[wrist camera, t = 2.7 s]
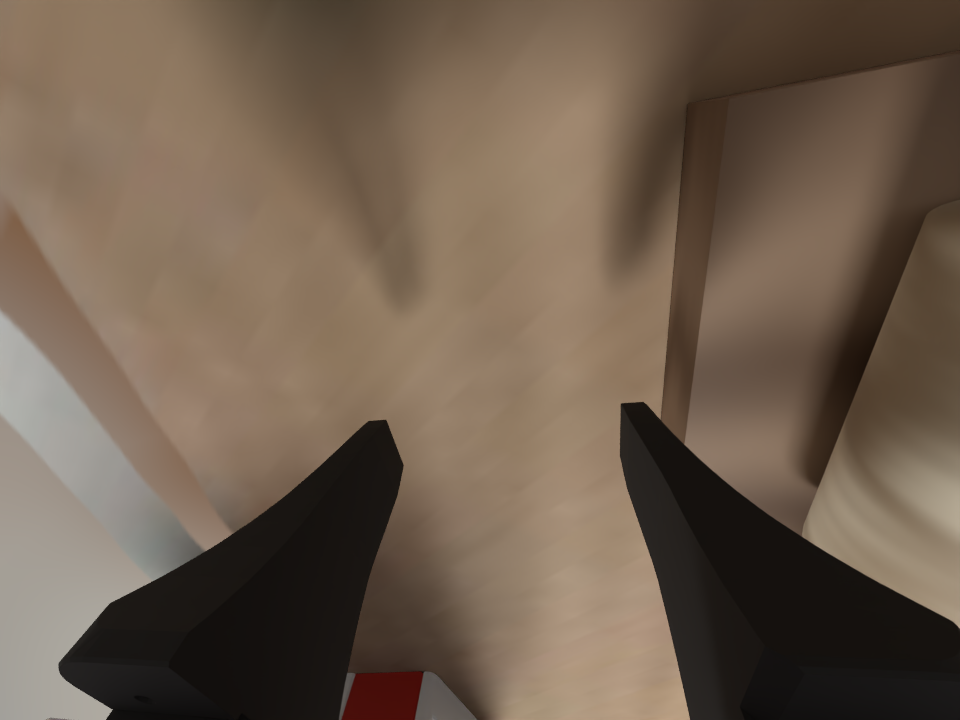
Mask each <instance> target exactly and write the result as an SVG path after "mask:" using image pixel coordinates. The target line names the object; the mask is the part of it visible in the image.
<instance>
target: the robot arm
mask: <svg viewBox="0 0 960 720" xmlns="http://www.w3.org/2000/svg"><path fill="white" fill-rule="evenodd" d="M620 458H621V462H622V467H623V472H624V476H625V481H626V485H627V489H628V492H629V495H630V498H631V501H632V504H633V507H634V510H635V513H636V516H637V518H638V521H639V524H640V527H641V530H642V533H643V536H644V539H645V542H646V545H647V547H648V550H649V553H650V556H651V559H652V562H653V565H654V568H655V572H656V575H657V578H658V582H659V586H660V590H661V594H662V598H663V602H664V606H665V611H666V615H667V619H668V623H669V627H670V632H671V636H672V640H673V644H674V649H675V653H676V657H677V662H678V666H679V671H680V675H681V680H682V684H683V689H684V693H685V698H686V702H687V707H688V711H689V716H690V720H960V628H959V627H958V626H957V625H956V624H955V623H954V622H953V621H951V620H949V619H947V618H945V617H944V616H942V615H940V614H938V613H936V612H934V611H932V610H930V609H928V608H926V607H925V606H923V605H921V604H919V603H917V602H915V601H913V600H911V599H909V598H907V597H905V596H904V595H902V594H900V593H898V592H896V591H894V590H892V589H890V588H888V587H886V586H885V585H883V584H881V583H879V582H877V581H875V580H873V579H872V578H870V577H868V576H866V575H865V574H863V573H861V572H859V571H858V570H856V569H854V568H853V567H851V566H849V565H847V564H846V563H844V562H842V561H841V560H839V559H837V558H835V557H834V556H832V555H830V554H829V553H827V552H825V551H824V550H822V549H821V548H819V547H817V546H816V545H814V544H813V543H811V542H809V541H808V540H806V539H805V538H803V537H802V536H800V535H799V534H797V533H796V532H794V531H793V530H791V529H789V528H788V527H786V526H785V525H783V524H782V523H780V522H779V521H777V520H776V519H774V518H773V517H771V516H770V515H769V514H767V513H766V512H764V511H763V510H762V509H760V508H759V507H757V506H756V505H755V504H754V503H752V502H751V501H750V500H748V499H747V498H746V497H744V496H743V495H742V494H740V493H739V492H738V491H737V490H735V489H734V488H733V487H732V486H730V485H729V484H728V483H727V482H725V481H724V480H723V479H722V478H721V477H720V476H718V475H717V474H716V473H715V472H714V471H713V470H711V469H710V468H709V467H708V466H707V465H706V464H705V463H704V462H702V461H701V460H700V459H699V458H698V457H697V456H696V455H695V454H694V453H693V452H692V451H691V450H690V449H689V448H688V447H687V446H685V445H684V444H683V443H682V442H681V441H680V440H679V439H678V438H677V437H676V436H675V435H674V434H673V433H672V432H671V431H670V430H669V428H668V427H667V426H666V425H665V424H664V423H663V422H662V421H661V420H660V419H659V418H658V417H657V416H656V415H655V413H654V412H653V411H652V410H651V409H650V408H649V407H648V406H647V405H646V404H645V403H644V402H636V403H622V404H621V427H620ZM403 466H404V465H403V463H402V460H401V457H400V455H399V452H398V450H397V447H396V444H395V442H394V439H393V436H392V434H391V431H390V429H389V426H388V423H387V421H386V420H378V421H368V422H367V423H366V424H365V425H363V426H362V427H361V428H360V429H359V430H358V431H357V432H356V433H355V434H354V435H353V436H352V437H350V438H349V439H348V440H347V441H346V442H345V443H344V444H343V445H342V446H341V447H340V448H339V449H338V450H337V451H336V452H335V453H334V454H332V455H331V456H330V457H329V458H328V459H327V460H326V461H325V462H324V463H323V464H322V465H321V466H320V467H318V468H317V469H316V470H315V471H314V472H313V473H312V474H310V475H309V476H308V477H307V478H306V479H305V480H304V481H302V482H301V483H300V484H299V485H298V486H297V487H295V488H294V489H293V490H292V491H291V492H290V493H288V494H287V495H286V496H285V497H283V498H282V499H281V500H280V501H278V502H277V503H276V504H275V505H273V506H272V507H271V508H269V509H268V510H266V511H265V512H264V513H262V514H261V515H260V516H258V517H257V518H256V519H254V520H253V521H251V522H250V523H249V524H247V525H246V526H244V527H243V528H241V529H240V530H238V531H237V532H235V533H234V534H232V535H231V536H229V537H228V538H226V539H225V540H223V541H222V542H220V543H219V544H217V545H215V546H214V547H212V548H211V549H209V550H207V551H206V552H204V553H202V554H201V555H199V556H197V557H196V558H194V559H192V560H190V561H189V562H187V563H185V564H184V565H182V566H180V567H178V568H177V569H175V570H173V571H171V572H169V573H168V574H166V575H164V576H162V577H160V578H158V579H156V580H154V581H153V582H151V583H149V584H147V585H145V586H143V587H141V588H139V589H137V590H135V591H133V592H131V593H129V594H127V595H126V596H124V597H122V598H120V599H118V600H115V601H114V602H112V603H110V604H109V605H108V606H107V607H106V608H105V610H104V611H103V612H102V613H101V614H100V615H99V617H98V618H97V619H96V620H95V621H94V622H93V624H92V625H91V626H90V627H89V628H88V630H87V631H86V632H85V633H84V634H83V635H82V637H81V638H80V639H79V640H78V641H77V643H76V644H75V645H74V646H73V647H72V648H71V649H70V650H69V652H68V653H67V654H66V655H65V656H64V657H63V659H62V660H61V661H60V662H59V671H60V674H61V675H62V677H64V679H65V680H66V681H68V682H69V683H71V684H72V685H73V686H75V687H76V688H78V689H80V690H81V691H83V692H85V693H86V694H88V695H90V696H91V697H93V698H94V699H96V700H98V701H99V702H101V703H103V704H104V705H106V706H108V707H109V708H111V709H113V710H112V712H111V713H110V715H109V716H108V717H107V719H106V720H339V716H340V710H341V704H342V698H343V692H344V686H345V681H346V676H347V671H348V666H349V661H350V656H351V651H352V646H353V642H354V637H355V633H356V628H357V624H358V619H359V615H360V611H361V607H362V603H363V599H364V595H365V591H366V587H367V583H368V579H369V575H370V572H371V569H372V566H373V563H374V560H375V557H376V554H377V552H378V549H379V546H380V543H381V540H382V538H383V535H384V532H385V529H386V526H387V524H388V521H389V518H390V515H391V512H392V509H393V507H394V504H395V501H396V498H397V495H398V490H399V486H400V481H401V476H402V471H403ZM47 720H67V719H57V718H49V719H47Z"/></svg>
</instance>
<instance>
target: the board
mask: <svg viewBox="0 0 960 720" xmlns="http://www.w3.org/2000/svg"><path fill="white" fill-rule="evenodd" d="M956 200H960V50H959V51H954V52H949V53H944V54H939V55H934V56H929V57H923V58H918V59H913V60H908V61H903V62H898V63H893V64H888V65H883V66H877V67H872V68H867V69H862V70H857V71H852V72H847V73H842V74H837V75H831V76H826V77H821V78H816V79H811V80H806V81H801V82H796V83H791V84H785V85H780V86H775V87H770V88H765V89H760V90H755V91H750V92H745V93H739V94H734V95H729V96H724V97H719V98H714V99H709V100H704V101H699V102H693V103H688V107H687V119H686V131H685V143H684V154H683V166H682V178H681V190H680V202H679V213H678V225H677V237H676V249H675V261H674V272H673V284H672V296H671V308H670V320H669V332H668V343H667V355H666V367H665V379H664V391H663V402H662V414H661V421H662V422H663V423H664V424H665V425H666V426H667V427H668V428H669V430H670V431H671V432H672V433H673V434H674V435H675V436H676V437H677V438H678V439H679V440H680V441H681V442H682V443H683V444H684V445H685V446H687V447H688V448H689V449H690V450H691V451H692V452H693V453H694V454H695V455H696V456H697V457H698V458H699V459H700V460H701V461H702V462H704V463H705V464H706V465H707V466H708V467H709V468H710V469H711V470H713V471H714V472H715V473H716V474H717V475H718V476H720V477H721V478H722V479H723V480H724V481H725V482H727V483H728V484H729V485H730V486H732V487H733V488H734V489H735V490H737V491H738V492H739V493H740V494H742V495H743V496H744V497H746V498H747V499H748V500H750V501H751V502H752V503H754V504H755V505H756V506H757V507H759V508H760V509H762V510H763V511H764V512H766V513H767V514H769V515H770V516H771V517H773V518H774V519H776V520H777V521H779V522H780V523H782V524H783V525H785V526H786V527H788V528H789V529H791V530H793V531H794V532H796V533H797V534H799V535H800V536H802V532H803V526H804V523H805V520H806V517H807V515H808V512H809V510H810V507H811V505H812V502H813V500H814V497H815V495H816V492H817V490H818V487H819V485H820V482H821V480H822V477H823V475H824V472H825V469H826V467H827V464H828V462H829V459H830V457H831V454H832V452H833V449H834V447H835V444H836V442H837V439H838V437H839V434H840V432H841V429H842V427H843V424H844V421H845V419H846V416H847V414H848V411H849V409H850V406H851V404H852V401H853V399H854V396H855V394H856V391H857V389H858V386H859V384H860V381H861V378H862V376H863V373H864V371H865V368H866V366H867V363H868V361H869V358H870V356H871V353H872V351H873V348H874V346H875V343H876V341H877V338H878V336H879V333H880V330H881V328H882V325H883V323H884V320H885V318H886V315H887V313H888V310H889V308H890V305H891V303H892V300H893V298H894V295H895V293H896V290H897V288H898V285H899V282H900V280H901V277H902V275H903V272H904V270H905V267H906V265H907V262H908V260H909V257H910V255H911V252H912V250H913V247H914V245H915V242H916V240H917V237H918V234H919V232H920V229H921V227H922V224H923V222H924V219H925V217H926V215H927V214H928V213H929V212H930V211H931V210H933V209H935V208H937V207H939V206H941V205H944V204H946V203H949V202H952V201H956Z"/></svg>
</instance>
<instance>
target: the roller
mask: <svg viewBox="0 0 960 720" xmlns="http://www.w3.org/2000/svg"><path fill="white" fill-rule="evenodd" d="M802 537H803V538H805V539H806V540H808V541H809V542H811V543H813V544H814V545H816V546H817V547H819V548H821V549H822V550H824V551H825V552H827V553H829V554H830V555H832V556H834V557H835V558H837V559H839V560H841V561H842V562H844V563H846V564H847V565H849V566H851V567H853V568H854V569H856V570H858V571H859V572H861V573H863V574H865V575H866V576H868V577H870V578H872V579H873V580H875V581H877V582H879V583H881V584H883V585H885V586H886V587H888V588H890V589H892V590H894V591H896V592H898V593H900V594H902V595H904V596H905V597H907V598H909V599H911V600H913V601H915V602H917V603H919V604H921V605H923V606H925V607H926V608H928V609H930V610H932V611H934V612H936V613H938V614H940V615H942V616H944V617H945V618H947V619H949V620H951V621H953V622H954V623H955V624H956V625H957V626H958V627H959V628H960V200H956V201H952V202H949V203H946V204H944V205H941V206H939V207H937V208H935V209H933V210H931V211H930V212H929V213H928V214H927V215H926V217H925V219H924V222H923V224H922V227H921V229H920V232H919V234H918V237H917V240H916V242H915V245H914V247H913V250H912V252H911V255H910V257H909V260H908V262H907V265H906V267H905V270H904V272H903V275H902V277H901V280H900V282H899V285H898V288H897V290H896V293H895V295H894V298H893V300H892V303H891V305H890V308H889V310H888V313H887V315H886V318H885V320H884V323H883V325H882V328H881V330H880V333H879V336H878V338H877V341H876V343H875V346H874V348H873V351H872V353H871V356H870V358H869V361H868V363H867V366H866V368H865V371H864V373H863V376H862V378H861V381H860V384H859V386H858V389H857V391H856V394H855V396H854V399H853V401H852V404H851V406H850V409H849V411H848V414H847V416H846V419H845V421H844V424H843V427H842V429H841V432H840V434H839V437H838V439H837V442H836V444H835V447H834V449H833V452H832V454H831V457H830V459H829V462H828V464H827V467H826V469H825V472H824V475H823V477H822V480H821V482H820V485H819V487H818V490H817V492H816V495H815V497H814V500H813V502H812V505H811V507H810V510H809V512H808V515H807V517H806V520H805V523H804V526H803V532H802Z"/></svg>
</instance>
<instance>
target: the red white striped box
mask: <svg viewBox="0 0 960 720" xmlns="http://www.w3.org/2000/svg"><path fill="white" fill-rule="evenodd" d="M339 720H477V719H476V718H475V716H474V715H473V714H472V713H471V712H470V711H469V710H468V709H467V708H466V707H465V705H464V704H463V703H462V702H461V701H460V700H459V699H458V698H457V697H456V696H455V694H454V693H453V692H452V691H451V690H450V689H449V688H448V687H447V686H446V685H445V683H444V682H443V681H442V680H441V679H440V678H439V677H438V676H437V675H436V674H435V673H432V672H428V671H425V672H424V673H422V672H421V671H418V672H390V673H362V674H355V673H347V676H346V681H345V686H344V692H343V698H342V704H341V710H340V716H339Z"/></svg>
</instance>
